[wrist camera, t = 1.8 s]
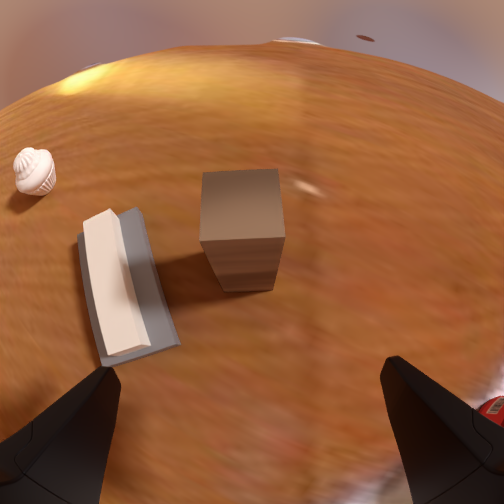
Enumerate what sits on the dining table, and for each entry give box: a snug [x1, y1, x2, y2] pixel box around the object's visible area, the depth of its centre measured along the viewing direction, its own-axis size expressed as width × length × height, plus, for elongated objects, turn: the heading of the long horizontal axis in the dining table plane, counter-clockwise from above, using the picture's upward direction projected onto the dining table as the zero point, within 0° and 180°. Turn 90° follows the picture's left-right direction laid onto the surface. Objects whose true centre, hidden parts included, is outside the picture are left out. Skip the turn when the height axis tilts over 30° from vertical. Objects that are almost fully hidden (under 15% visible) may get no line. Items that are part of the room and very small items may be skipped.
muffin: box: [13, 147, 56, 196], centre depth 24 cm, size 6×6×7 cm
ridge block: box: [77, 207, 181, 367], centre depth 21 cm, size 13×7×4 cm, turn 23°
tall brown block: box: [199, 169, 285, 292], centre depth 18 cm, size 4×4×10 cm
